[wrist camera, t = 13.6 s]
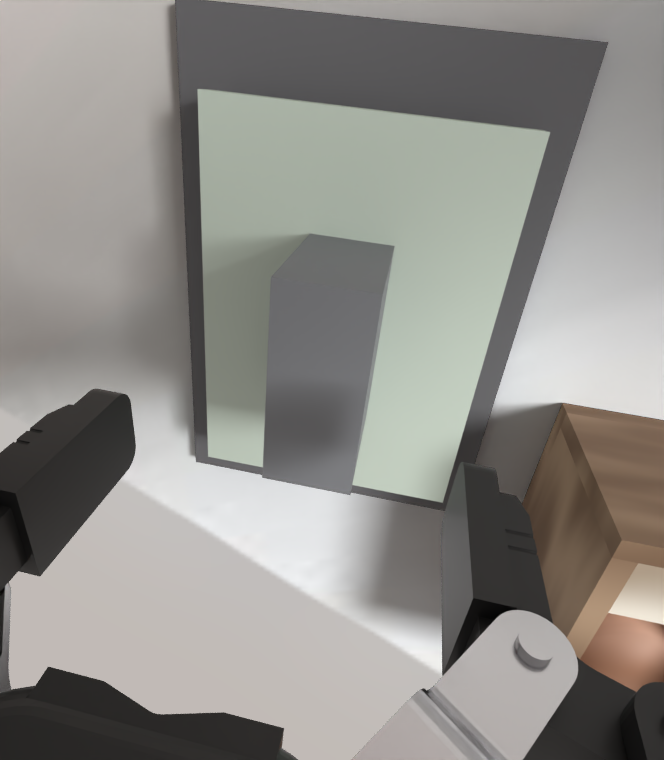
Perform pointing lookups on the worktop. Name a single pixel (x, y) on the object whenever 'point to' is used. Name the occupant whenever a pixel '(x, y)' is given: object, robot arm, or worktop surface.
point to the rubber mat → (396, 94)
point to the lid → (352, 284)
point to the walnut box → (604, 539)
